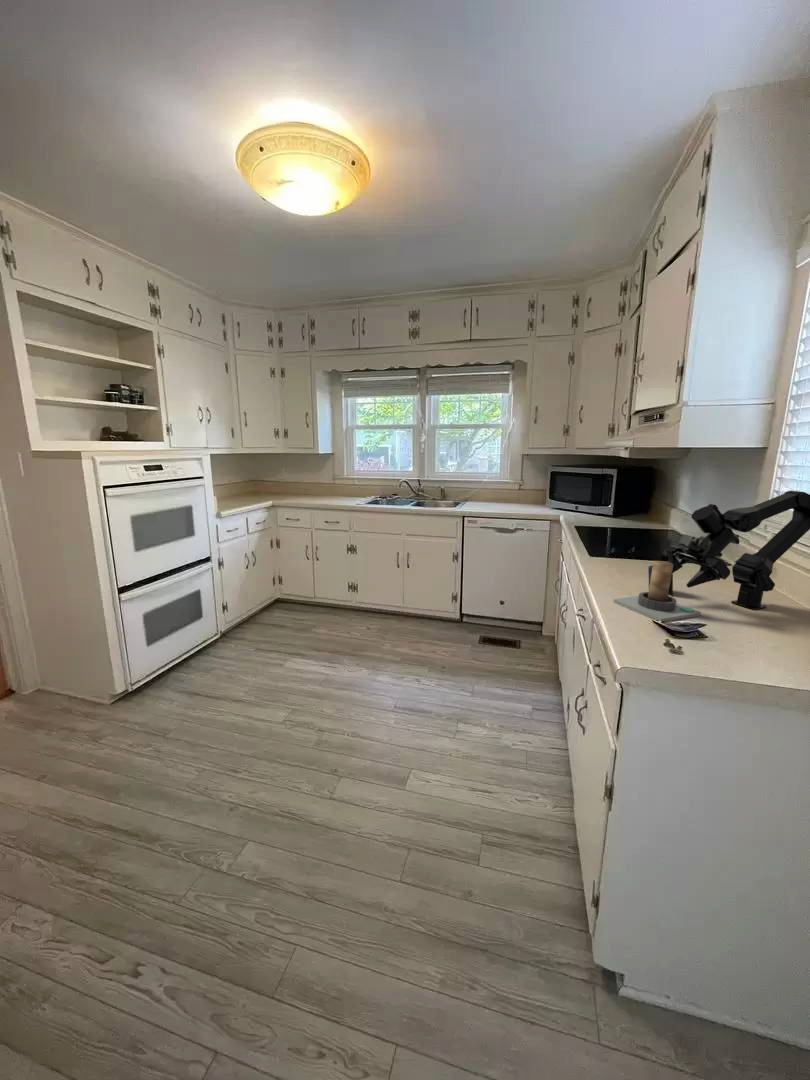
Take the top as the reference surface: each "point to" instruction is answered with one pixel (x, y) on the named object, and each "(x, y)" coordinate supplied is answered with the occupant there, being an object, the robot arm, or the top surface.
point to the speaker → (670, 581)
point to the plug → (660, 581)
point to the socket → (657, 608)
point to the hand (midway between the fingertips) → (674, 581)
